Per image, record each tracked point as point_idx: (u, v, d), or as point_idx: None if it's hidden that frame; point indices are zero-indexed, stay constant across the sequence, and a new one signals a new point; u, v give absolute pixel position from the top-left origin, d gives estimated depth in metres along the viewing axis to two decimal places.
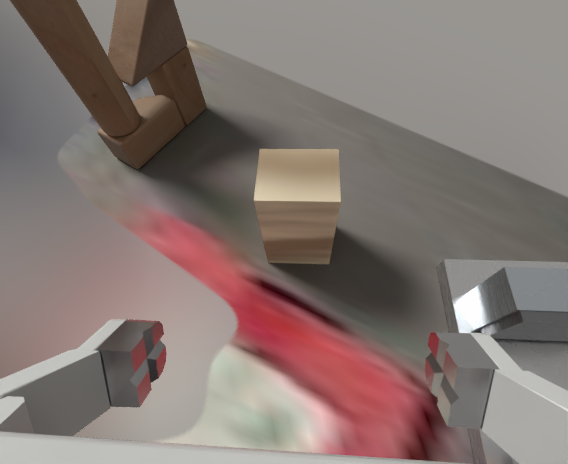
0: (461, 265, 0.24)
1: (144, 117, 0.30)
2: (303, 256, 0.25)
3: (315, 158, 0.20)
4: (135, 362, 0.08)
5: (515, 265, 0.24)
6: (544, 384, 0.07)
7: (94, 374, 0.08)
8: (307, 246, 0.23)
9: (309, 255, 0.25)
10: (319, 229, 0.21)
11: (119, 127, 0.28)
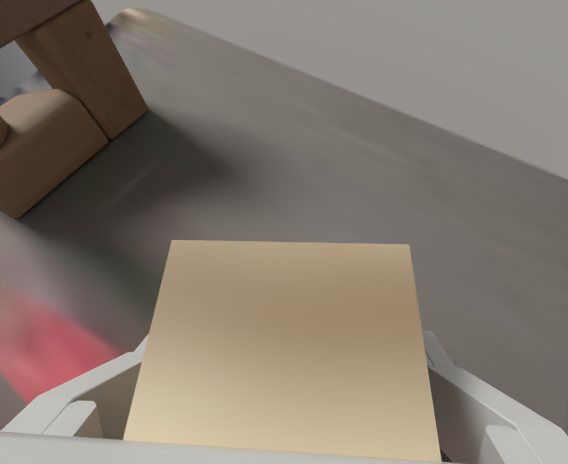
0: None
1: (17, 129, 0.17)
2: None
3: (339, 278, 0.06)
4: None
5: None
6: (472, 380, 0.07)
7: None
8: None
9: None
10: None
11: None
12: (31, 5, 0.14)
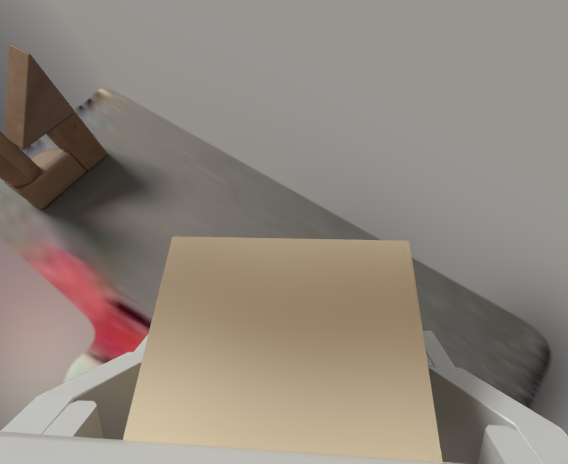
0: None
1: (42, 169, 0.38)
2: None
3: (339, 274, 0.06)
4: None
5: None
6: (472, 380, 0.07)
7: None
8: None
9: None
10: None
11: (17, 180, 0.36)
12: (50, 121, 0.35)
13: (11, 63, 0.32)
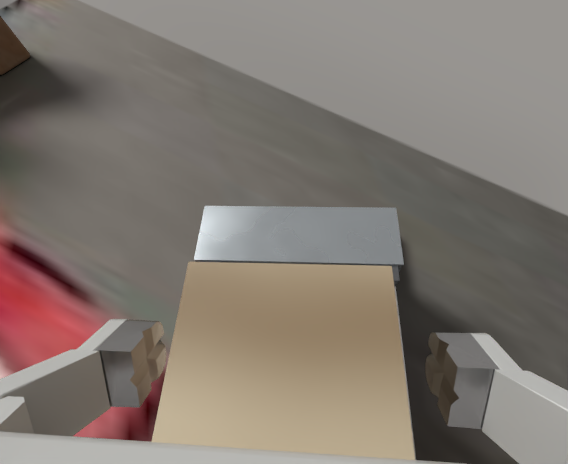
0: None
1: None
2: None
3: (331, 295, 0.07)
4: (135, 362, 0.08)
5: None
6: (544, 384, 0.07)
7: (94, 374, 0.08)
8: None
9: None
10: None
11: None
12: None
13: None
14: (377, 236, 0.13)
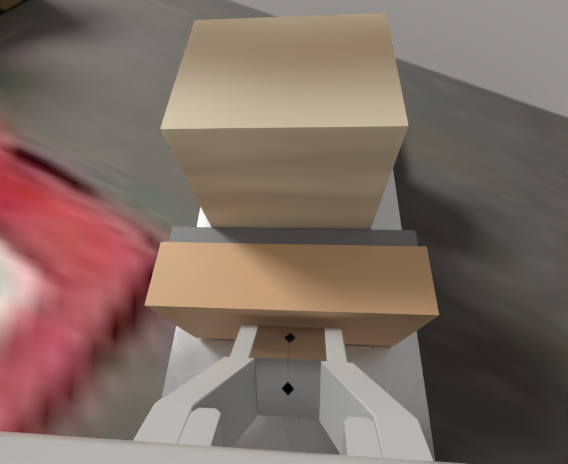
0: None
1: None
2: None
3: (330, 32, 0.08)
4: None
5: None
6: (356, 375, 0.07)
7: (250, 382, 0.08)
8: None
9: None
10: (339, 214, 0.09)
11: None
12: None
13: None
14: None
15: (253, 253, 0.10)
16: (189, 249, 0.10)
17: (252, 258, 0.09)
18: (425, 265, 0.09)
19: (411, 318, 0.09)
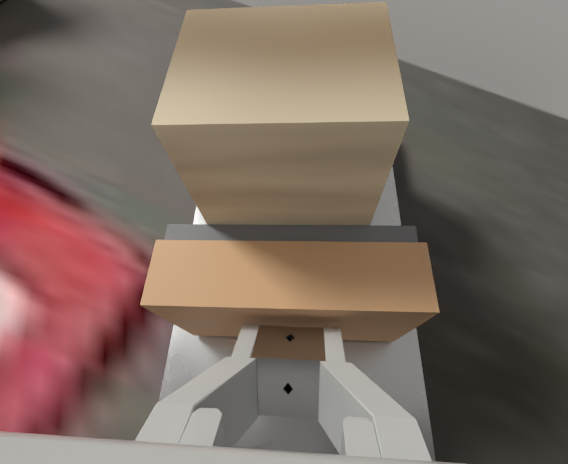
0: None
1: None
2: None
3: (327, 22, 0.08)
4: None
5: None
6: (355, 374, 0.07)
7: (251, 382, 0.08)
8: None
9: None
10: (337, 211, 0.09)
11: None
12: None
13: None
14: None
15: (250, 250, 0.09)
16: (185, 247, 0.10)
17: (249, 256, 0.09)
18: (425, 261, 0.09)
19: (411, 315, 0.09)
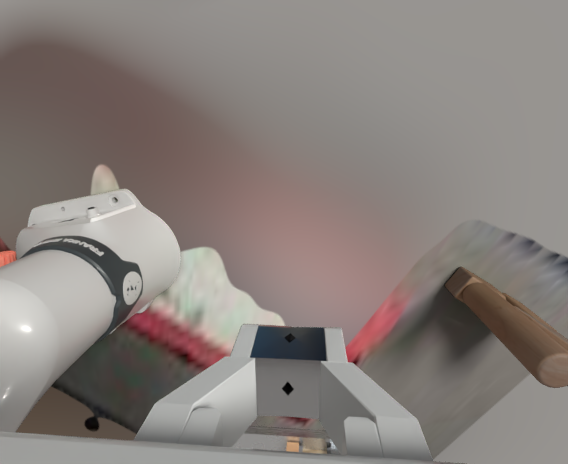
0: None
1: None
2: None
3: None
4: None
5: None
6: (356, 375, 0.07)
7: (250, 382, 0.08)
8: None
9: None
10: None
11: (466, 303, 0.40)
12: None
13: None
14: None
15: None
16: None
17: None
18: None
19: None
